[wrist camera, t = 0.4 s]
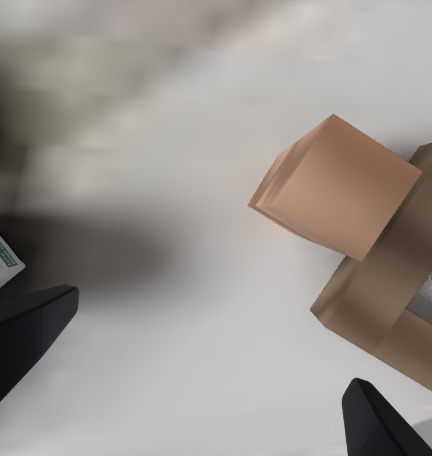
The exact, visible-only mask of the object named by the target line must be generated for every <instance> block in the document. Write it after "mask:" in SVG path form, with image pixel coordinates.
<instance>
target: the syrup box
mask: <svg viewBox="0 0 432 456" xmlns="http://www.w3.org/2000/svg"><path fill="white" fill-rule="evenodd" d="M25 267H26V266H25V264H24V263H23V262H22V261H20V260H19V259H18V257H17V256H16V255H15V254H14V252H13V251H12V250H11V248H10V247H9V246H8V245H7V244H6V242H5V241H4V240H3V239H2V238H1V236H0V287H1V286H3V285H4V284H5V283H6V282H8V281H9V280H10V279H11V278H13V277H14V276H15V275H16V274H18V273H19V272H20V271H21V270H23V269H24V268H25Z"/></svg>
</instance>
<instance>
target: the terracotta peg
mask: <svg viewBox="0 0 432 456" xmlns="http://www.w3.org/2000/svg"><path fill="white" fill-rule="evenodd" d="M422 172H423V171H421V170H419V169H418V168H416V167H415V166H413V165H412V164H410V163H409V162H407V161H406V160H404V159H403V158H401V157H399V156H398V155H396V154H395V153H393V152H392V151H390V150H389V149H387V148H386V147H384V146H382V145H381V144H379V143H378V142H376V141H375V140H373V139H372V138H370V137H369V136H367V135H366V134H364V133H362V132H361V131H359V130H358V129H356V128H355V127H353V126H352V125H350V124H349V123H347V122H346V121H344V120H342V119H341V118H339V117H338V116H336V115H335V114H332V115H331V116H330V117H328V118H327V119H326V120H325V121H323V122H322V123H321V124H319V125H318V126H317V127H315V128H314V129H313V130H312V131H310V132H309V133H308V134H306V135H305V136H304V137H302V138H301V139H300V140H299V141H297V142H296V143H295V144H293V145H292V146H291V147H289V148H288V149H287V150H286V151H284V152H283V153H282V154H280V155H279V156H278V157H277V158H276V160H275V161H274V163H273V165H272V166H271V168H270V169H269V171H268V173H267V174H266V176H265V178H264V179H263V181H262V182H261V184H260V186H259V187H258V189H257V190H256V192H255V194H254V195H253V197H252V198H251V200H250V202H249V203H248V206H249V207H251V208H252V209H254V210H256V211H257V212H259V213H260V214H262V215H264V216H265V217H267V218H269V219H270V220H272V221H273V222H275V223H277V224H278V225H280V226H282V227H283V228H285V229H286V230H288V231H290V232H291V233H293V234H295V235H297V236H300V237H302V238H305V239H307V240H310V241H312V242H314V243H317V244H319V245H322V246H324V247H327V248H329V249H332V250H334V251H337V252H339V253H342V254H344V255H346V256H349V257H351V258H354V259H356V260H359V261H361V262H362V260H363V259H364V257H365V256H366V254H367V253H368V251H369V250H370V248H371V247H372V246H373V244H374V243H375V241H376V240H377V238H378V237H379V235H380V234H381V232H382V231H383V229H384V228H385V226H386V225H387V223H388V222H389V221H390V219H391V218H392V216H393V215H394V213H395V212H396V210H397V209H398V207H399V206H400V204H401V203H402V201H403V200H404V199H405V197H406V196H407V194H408V193H409V191H410V190H411V188H412V187H413V185H414V184H415V182H416V181H417V179H418V178H419V176H420V175H421V174H422Z"/></svg>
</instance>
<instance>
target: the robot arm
mask: <svg viewBox="0 0 432 456" xmlns="http://www.w3.org/2000/svg"><path fill="white" fill-rule="evenodd" d="M78 301H79V289H78V288H77V287H75V286H72V285H69V284H63V285H59V286H56V287H52V288H48V289H45V290H41V291H37V292H33V293H30V294H26V295H22V296H19V297H15V298H11V299H7V300H4V301H0V402H1V400H2V399H3V398H4V397H5V396H6V395H7V394H8V393H9V392H10V391H11V390H12V389H13V388H14V387H15V385H16V384H17V383H18V382H19V381H20V380H21V379H22V378H23V377H24V376H25V375H26V374H27V373H28V372H29V370H30V369H31V368H32V367H33V366H34V365H35V364H36V363H37V362H38V361H39V360H40V359H41V357H42V356H43V355H44V354H45V353H46V351H47V350H48V349H49V348H50V346H51V345H52V344H53V343H54V341H55V340H56V339H57V337H58V336H59V335H60V334H61V332H62V331H63V330H64V328H65V327H66V326H67V325H68V323H69V322H70V321H71V319H72V318H73V317H74V316H75V314H76V312H77V310H78ZM342 410H343V418H344V427H345V435H346V443H347V452H348V456H432V449H431V448H430V447H429V446H428V444H427V443H425V441H424V440H423V439H422V438H421V437H420V436H419V435H418V434H417V433H416V431H415V430H414V429H413V428H412V427H411V426H410V425H409V424H408V423H407V422H406V421H405V419H404V418H403V417H402V416H401V415H400V414H399V413H398V412H397V411H396V410H395V409H394V408H393V406H392V405H391V404H390V403H389V402H388V401H387V400H386V399H385V398H384V397H383V396H382V395H381V393H380V392H379V391H378V390H377V389H376V388H375V387H374V386H373V385H372V384H371V383H370V382H368V381H366V380H363V379H360V378H354V379H352V381H351V382H350V384H349V386H348V388H347V389H346V391H345V393H344V395H343V397H342Z"/></svg>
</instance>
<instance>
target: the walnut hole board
mask: <svg viewBox="0 0 432 456" xmlns="http://www.w3.org/2000/svg"><path fill="white" fill-rule="evenodd" d="M409 163H410V164H412V165H413V166H415V167H416V168H418V169H419V170H421V171H423V172H422V174H421V175H420V176H419V178H418V179H417V181H416V182H415V184H414V185H413V187H412V188H411V190H410V191H409V193H408V194H407V196H406V197H405V199H404V200H403V201H402V203H401V204H400V206H399V207H398V209H397V210H396V212H395V213H394V215H393V216H392V218H391V219H390V221H389V222H388V223H387V225H386V226H385V228H384V229H383V231H382V232H381V234H380V235H379V237H378V238H377V240H376V241H375V243H374V244H373V246H372V247H371V248H370V250H369V251H368V253H367V254H366V256H365V257H364V259H363V260H362V262H361V261H359V260H356V259H354V258H351V257H349V256H346V257H345V258H344V259H343V261H342V262H341V264H340V265H339V267H338V268H337V270H336V271H335V273H334V274H333V276H332V277H331V279H330V280H329V282H328V283H327V285H326V286H325V288H324V289H323V291H322V292H321V294H320V295H319V297H318V298H317V300H316V301H315V303H314V304H313V306H312V307H311V309H310V311H311V312H312V313H313V314H314V315H315V316H316V317H317V319H318V320H319V321H320V322H321V323H322V324H323V326H324V327H326V328H328V329H329V330H331V331H333V332H334V333H336V334H338V335H339V336H341V337H343V338H344V339H346V340H348V341H349V342H351V343H353V344H354V345H356V346H358V347H359V348H361V349H363V350H364V351H366V352H368V353H369V354H371V355H373V356H374V357H376V358H377V359H379V360H381V361H382V362H384V363H386V364H387V365H389V366H391V367H392V368H394V369H396V370H397V371H399V372H401V373H402V374H404V375H406V376H407V377H409V378H411V379H412V380H414V381H416V382H417V383H419V384H421V385H422V386H424V387H426V388H427V389H429V390H431V391H432V325H431V324H429V323H428V322H426V321H425V320H423V319H421V318H420V317H418V316H416V315H415V314H413V313H412V312H410V311H408V310H407V309H405V307H406V306H407V305H408V303H409V302H410V300H411V299H412V298H413V296H414V295H415V293H416V292H417V291H418V289H419V288H420V286H421V285H422V284H423V282H424V281H425V279H426V278H427V277H428V275H429V274H430V272H431V271H432V143H430V144H426V145H422V146H420V147H419V148H418V150H417V151H416V153H415V154H414V155H413V157H412V158H411V160H410V161H409Z"/></svg>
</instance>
